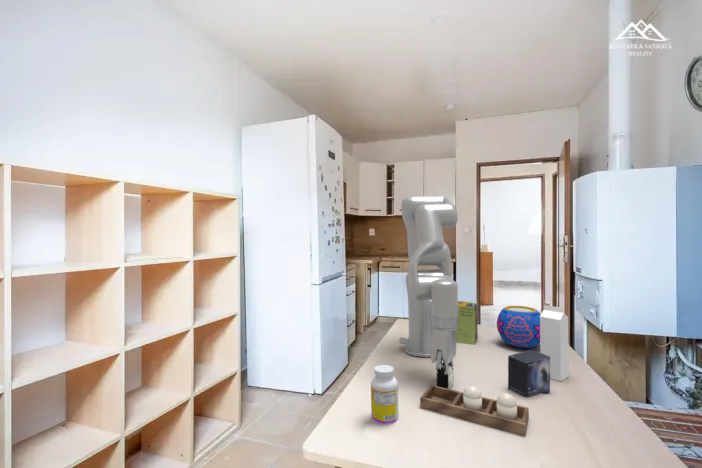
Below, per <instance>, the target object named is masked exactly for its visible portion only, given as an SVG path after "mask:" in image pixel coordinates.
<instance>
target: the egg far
mask: <svg viewBox="0 0 702 468" xmlns="http://www.w3.org/2000/svg"><path fill="white" fill-rule="evenodd" d="M496 400H497V416H499V417H503V418H507V419H511V420H515V421H517V405H518V403H517V400H516V398H515V397H514V395H512V394H511V393H510V392H509V393H508V392H502V393H500V394H498V396H497V397H496Z"/></svg>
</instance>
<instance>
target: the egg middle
mask: <svg viewBox="0 0 702 468" xmlns="http://www.w3.org/2000/svg"><path fill="white" fill-rule="evenodd" d="M462 392H463V407H464V408H468V409H472V410H476V411H480V412H482V397H483V395H482V391H481V390H480V389H479V387H477V386H476V385H472V384H471V385H467V386H466V387H464V389H463V391H462Z"/></svg>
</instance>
